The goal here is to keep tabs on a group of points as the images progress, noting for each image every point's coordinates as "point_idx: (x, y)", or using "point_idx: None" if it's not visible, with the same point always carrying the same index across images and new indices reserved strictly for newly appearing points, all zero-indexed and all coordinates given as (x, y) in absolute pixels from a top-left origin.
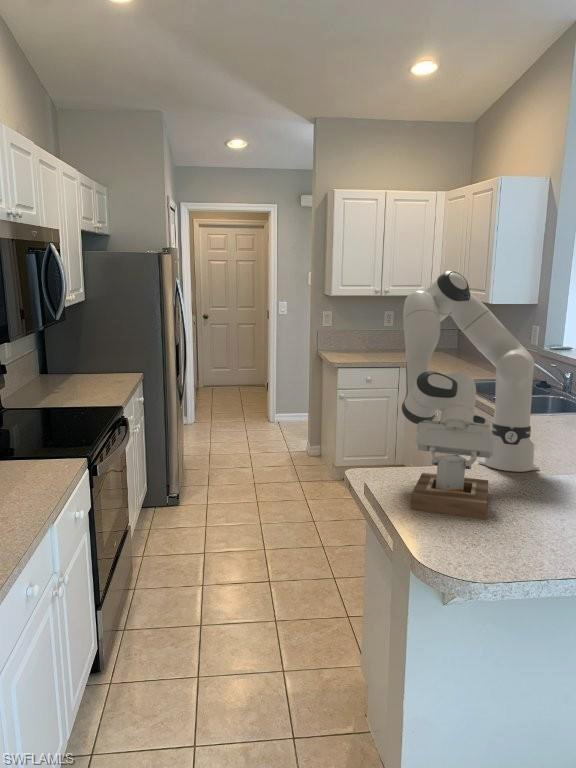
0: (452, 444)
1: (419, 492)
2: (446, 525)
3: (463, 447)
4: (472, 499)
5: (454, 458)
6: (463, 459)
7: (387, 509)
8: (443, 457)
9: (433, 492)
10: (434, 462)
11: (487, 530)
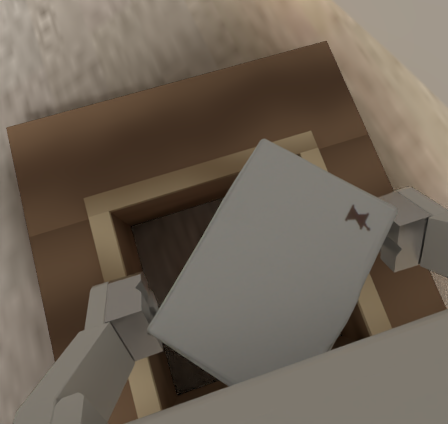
0: (373, 382)
1: (310, 78)
2: (142, 18)
3: (184, 416)
4: (79, 138)
5: (233, 228)
6: (164, 301)
7: (363, 32)
8: (328, 179)
9: (263, 118)
10: (384, 196)
11: (15, 58)
